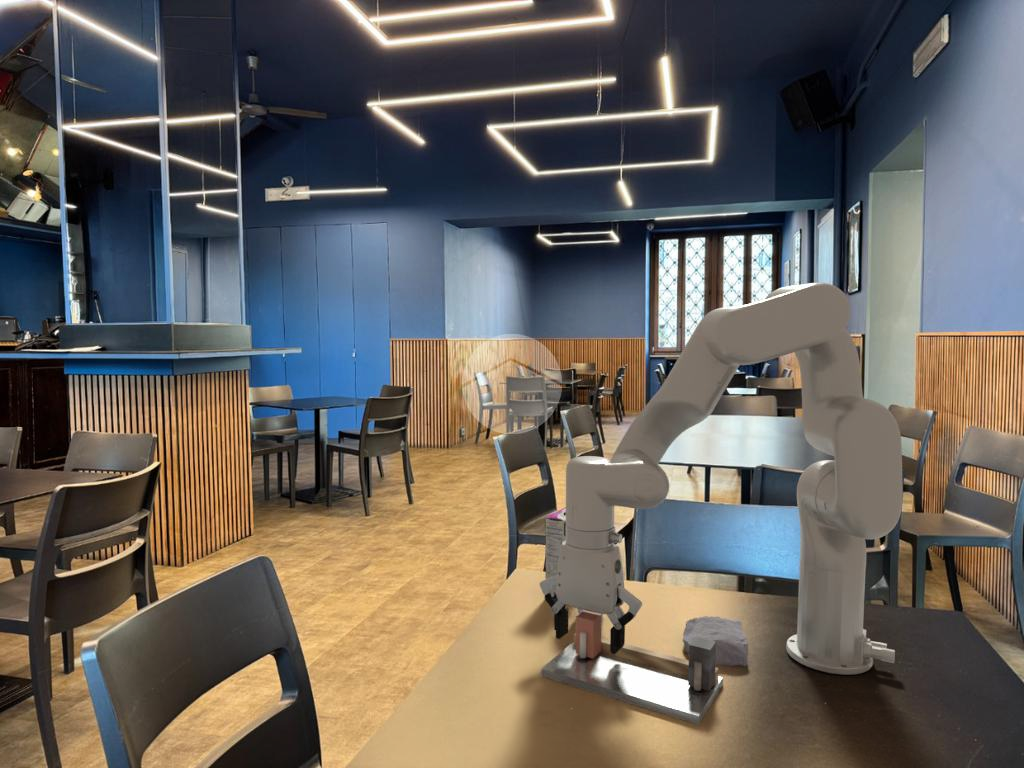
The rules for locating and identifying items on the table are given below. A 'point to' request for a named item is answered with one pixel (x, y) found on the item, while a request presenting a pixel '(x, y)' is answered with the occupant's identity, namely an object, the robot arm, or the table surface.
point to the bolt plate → (633, 683)
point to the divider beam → (676, 661)
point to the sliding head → (588, 634)
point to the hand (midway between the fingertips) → (588, 642)
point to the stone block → (719, 638)
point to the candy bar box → (554, 541)
